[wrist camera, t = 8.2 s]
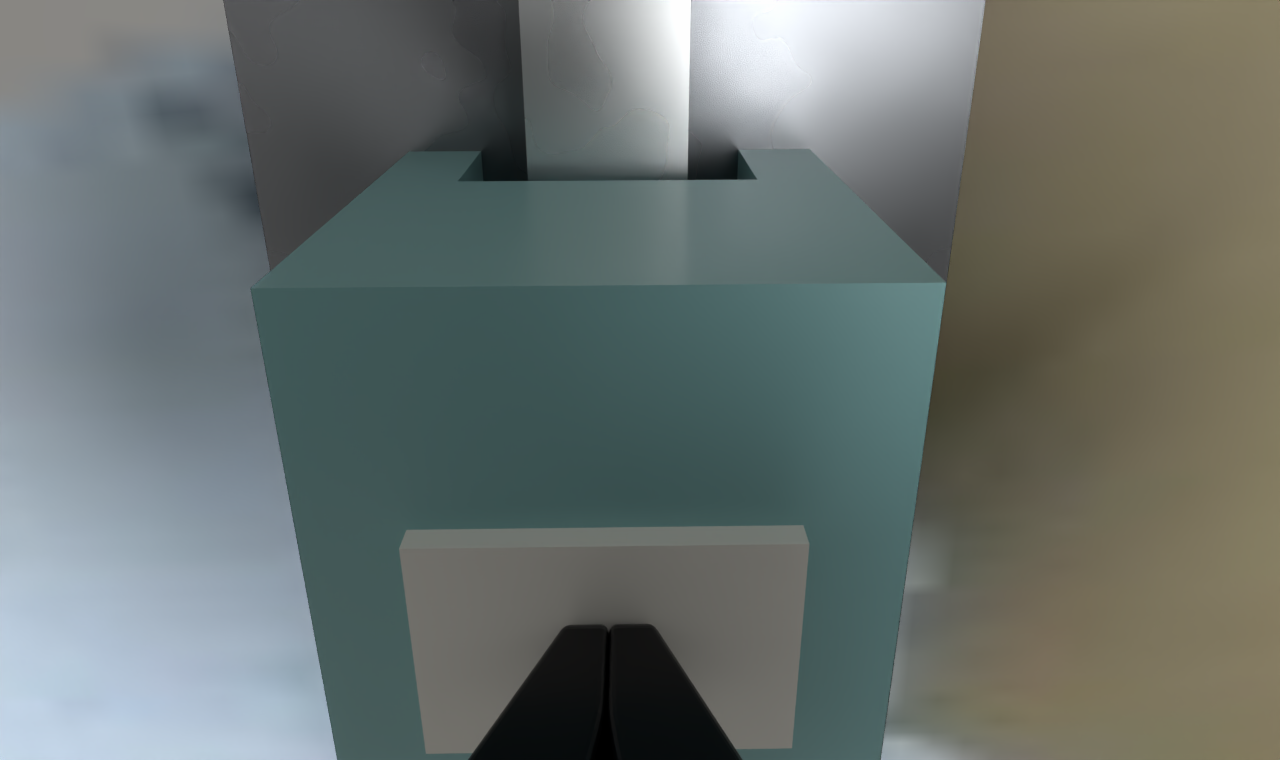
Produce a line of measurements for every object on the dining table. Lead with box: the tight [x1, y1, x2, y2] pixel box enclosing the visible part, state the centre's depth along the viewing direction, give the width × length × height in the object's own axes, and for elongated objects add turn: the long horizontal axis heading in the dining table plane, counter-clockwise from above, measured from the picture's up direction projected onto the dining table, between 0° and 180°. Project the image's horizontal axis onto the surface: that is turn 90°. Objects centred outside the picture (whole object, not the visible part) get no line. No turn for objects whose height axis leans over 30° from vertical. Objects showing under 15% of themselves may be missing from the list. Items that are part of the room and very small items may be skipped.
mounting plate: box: [223, 0, 985, 760], centre depth 14 cm, size 20×10×2 cm, turn 0°
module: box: [251, 149, 946, 760], centre depth 11 cm, size 7×6×6 cm
